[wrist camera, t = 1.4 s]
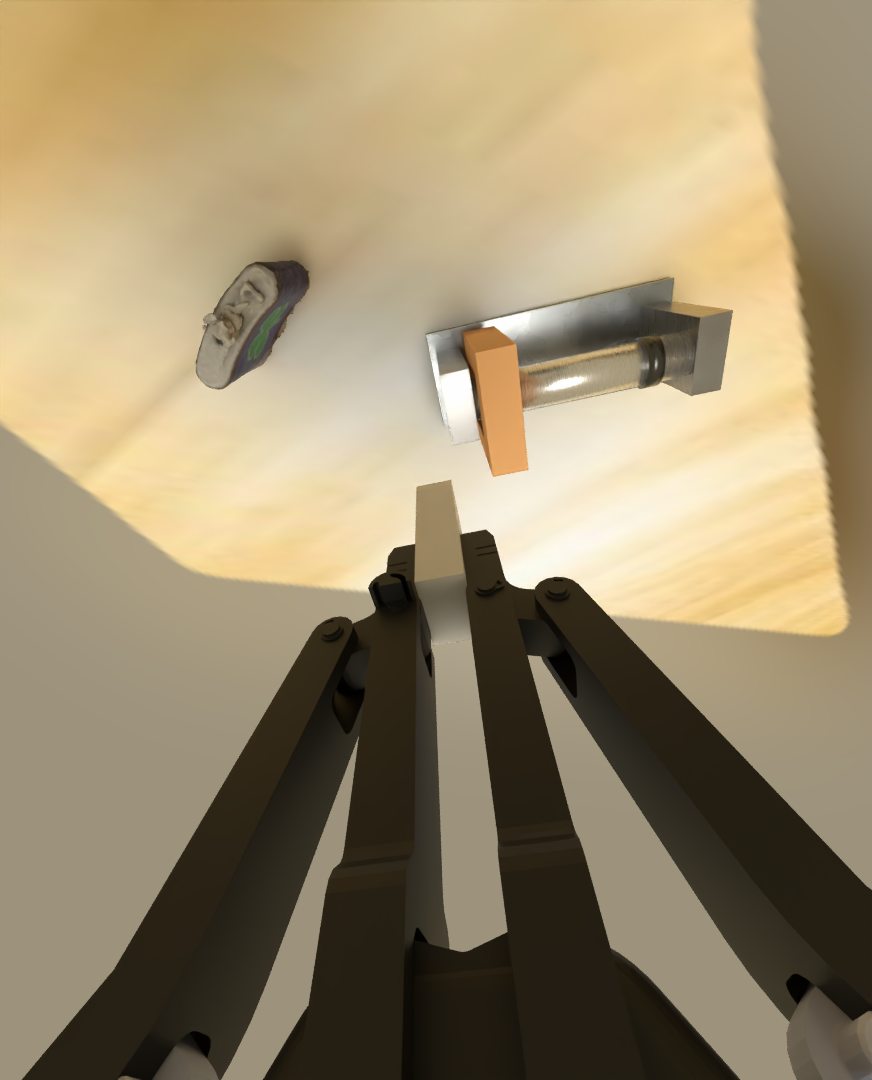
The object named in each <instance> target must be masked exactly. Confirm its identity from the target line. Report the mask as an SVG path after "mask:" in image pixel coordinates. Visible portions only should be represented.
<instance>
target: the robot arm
mask: <svg viewBox="0 0 872 1080" xmlns="http://www.w3.org/2000/svg"><path fill="white" fill-rule="evenodd" d="M368 589H369V591H370V594H371V597H372V599H373V602H374V605H375V607H376V611H375V613H374V614H372V615H371V616H369V617H367V618H365V619H363V620H360V621H358V622H356V623H354V624H352V621H351V620H349V619H348V618H346V617H334V618H331V619H328V620H326V621H324V622H322V623H321V624H320V625H318V626H317V627H316V628H315V630H314V631H313V632H312V634H311V636H310V637H309V639H308V641H307V642H306V644H305V646H304V648H303V649H302V651H301V653H300V654H299V656H298V658H297V659H296V661H295V663H294V665H293V666H292V668H291V670H290V671H289V673H288V675H287V676H286V678H285V680H284V682H283V683H282V685H281V687H280V688H279V690H278V692H277V693H276V695H275V697H274V699H273V700H272V702H271V704H270V705H269V707H268V709H267V710H266V712H265V714H264V716H263V717H262V719H261V721H260V722H259V724H258V726H257V727H256V729H255V731H254V732H253V734H252V736H251V738H250V739H249V741H248V743H247V744H246V746H245V748H244V750H243V751H242V753H241V755H240V756H239V758H238V760H237V761H236V763H235V765H234V766H233V768H232V770H231V772H230V773H229V775H228V777H227V778H226V780H225V782H224V784H223V785H222V787H221V789H220V790H219V792H218V794H217V795H216V797H215V799H214V801H213V802H212V804H211V806H210V807H209V809H208V811H207V813H206V814H205V816H204V817H203V819H202V821H201V823H200V824H199V826H198V828H197V829H196V831H195V833H194V835H193V836H192V838H191V840H190V841H189V843H188V845H187V846H186V848H185V850H184V852H183V853H182V855H181V857H180V858H179V860H178V862H177V863H176V865H175V867H174V869H173V870H172V872H171V874H170V875H169V877H168V879H167V881H166V882H165V884H164V885H163V887H162V889H161V891H160V892H159V894H158V896H157V897H156V899H155V901H154V902H153V904H152V906H151V908H150V909H149V911H148V913H147V914H146V916H145V918H144V919H143V921H142V923H141V925H140V926H139V928H138V930H137V931H136V933H135V935H134V936H133V938H132V940H131V942H130V943H129V945H128V947H127V948H126V950H125V952H124V954H123V955H122V957H121V959H120V960H119V962H118V964H117V965H116V967H115V969H114V970H113V972H112V973H111V974H110V975H109V976H108V977H107V979H106V980H105V981H104V982H103V983H102V985H101V986H100V987H99V988H98V989H97V991H96V992H95V993H94V994H93V995H92V996H91V998H90V999H89V1000H88V1001H87V1003H86V1004H85V1005H84V1006H83V1007H82V1008H81V1010H80V1011H79V1012H78V1013H77V1014H76V1016H75V1017H74V1018H73V1019H72V1020H71V1022H70V1023H69V1024H68V1025H67V1026H66V1028H65V1029H64V1030H63V1032H61V1034H60V1035H59V1036H58V1037H57V1038H56V1040H55V1041H54V1042H53V1043H52V1044H51V1045H50V1047H49V1048H48V1049H47V1050H46V1051H45V1053H44V1054H43V1055H42V1056H41V1057H40V1059H39V1060H38V1061H37V1062H36V1063H35V1065H34V1066H33V1067H32V1068H31V1069H30V1071H29V1072H28V1073H27V1074H26V1075H25V1077H24V1078H23V1079H22V1080H221V1079H222V1077H223V1075H224V1073H225V1072H226V1070H227V1068H228V1066H229V1065H230V1063H231V1061H232V1059H233V1057H234V1055H235V1053H236V1051H237V1049H238V1047H239V1045H240V1043H241V1041H242V1039H243V1036H244V1034H245V1032H246V1030H247V1028H248V1026H249V1024H250V1022H251V1020H252V1017H253V1015H254V1012H255V1010H256V1007H257V1005H258V1002H259V1000H260V997H261V995H262V993H263V990H264V988H265V986H266V983H267V980H268V978H269V975H270V972H271V970H272V967H273V964H274V961H275V959H276V956H277V953H278V951H279V948H280V945H281V943H282V940H283V937H284V934H285V932H286V929H287V926H288V924H289V921H290V919H291V916H292V913H293V910H294V908H295V905H296V902H297V900H298V897H299V894H300V892H301V889H302V886H303V883H304V881H305V878H306V876H307V873H308V870H309V868H310V865H311V862H312V859H313V856H314V854H315V851H316V849H317V846H318V843H319V841H320V838H321V835H322V833H323V830H324V827H325V824H326V822H327V819H328V817H329V814H330V811H331V809H332V806H333V803H334V800H335V798H336V795H337V792H338V790H339V787H340V784H341V782H342V779H343V776H344V774H345V771H346V768H347V766H348V762H349V760H350V757H351V755H352V752H353V749H354V747H355V744H356V741H357V739H358V736H359V740H358V748H357V756H356V763H355V771H354V778H353V786H352V794H351V802H350V810H349V817H348V825H347V832H346V840H345V847H344V853H343V858H342V860H341V862H340V864H339V865H337V866H336V867H335V868H334V869H333V870H332V873H331V875H330V877H329V880H328V885H327V889H326V894H325V900H324V907H323V914H322V921H321V927H320V934H319V940H318V947H317V953H316V960H315V967H314V973H313V980H312V986H311V993H310V999H309V1006H308V1007H307V1009H306V1010H305V1011H304V1013H303V1014H302V1016H301V1017H300V1019H299V1021H298V1022H297V1024H296V1025H295V1027H294V1029H293V1030H292V1032H291V1034H290V1035H289V1037H288V1039H287V1040H286V1042H285V1044H284V1046H283V1047H282V1049H281V1050H280V1052H279V1054H278V1056H277V1057H276V1059H275V1060H274V1062H273V1064H272V1065H271V1067H270V1069H269V1070H268V1072H267V1074H266V1076H265V1078H264V1079H263V1080H740V1079H739V1078H738V1076H737V1075H736V1074H735V1073H734V1072H733V1071H732V1070H731V1069H730V1068H729V1066H728V1065H727V1064H726V1063H725V1062H724V1061H723V1060H722V1059H721V1057H720V1056H719V1055H718V1054H717V1053H716V1052H715V1051H714V1050H713V1048H712V1047H711V1046H710V1045H709V1044H708V1043H707V1042H706V1041H705V1040H704V1038H703V1037H702V1036H701V1035H700V1034H699V1033H698V1032H697V1031H696V1029H695V1028H694V1027H693V1026H692V1025H691V1024H690V1023H689V1022H688V1020H687V1019H686V1018H685V1017H684V1016H683V1015H682V1014H681V1013H680V1011H679V1010H678V1009H677V1008H676V1007H675V1006H674V1005H673V1004H672V1003H671V1001H670V1000H669V999H668V998H667V997H666V996H665V995H664V994H663V992H662V991H661V990H660V989H659V988H658V987H657V986H656V985H655V984H654V983H653V982H652V981H651V979H650V978H649V977H648V976H646V975H645V974H644V973H643V972H642V971H641V970H640V969H639V968H638V967H637V966H635V965H634V964H633V963H632V962H631V961H629V960H628V959H626V958H625V957H624V956H622V955H621V954H620V953H618V952H616V951H614V950H613V949H611V948H610V945H609V941H608V938H607V935H606V930H605V927H604V923H603V920H602V916H601V912H600V909H599V905H598V901H597V898H596V894H595V891H594V887H593V884H592V880H591V877H590V873H589V869H588V865H587V862H586V858H585V855H584V851H583V848H582V845H581V842H580V840H579V837H578V836H577V834H576V832H575V829H574V826H573V822H572V819H571V815H570V812H569V808H568V804H567V800H566V797H565V793H564V789H563V786H562V782H561V778H560V775H559V771H558V767H557V763H556V760H555V756H554V752H553V749H552V745H551V741H550V737H549V734H548V730H547V726H546V723H545V719H544V715H543V712H542V708H541V704H540V700H539V697H538V693H537V689H536V686H535V682H534V679H533V675H532V671H531V667H530V663H529V660H528V656H527V655H532V656H541V657H542V660H543V662H544V663H545V665H546V666H547V668H548V670H549V671H550V673H551V674H552V676H553V677H554V679H555V680H556V682H557V683H558V685H559V686H560V688H561V689H562V691H563V692H564V694H565V696H566V697H567V698H568V700H569V702H570V703H571V705H572V706H573V708H574V709H575V711H576V712H577V714H578V715H579V717H580V718H581V720H582V721H583V723H584V725H585V726H586V727H587V729H588V731H589V732H590V733H591V735H592V737H593V738H594V740H595V741H596V743H597V744H598V746H599V747H600V749H601V750H602V752H603V754H604V755H605V757H606V758H607V760H608V761H609V763H610V764H611V766H612V767H613V769H614V770H615V772H616V773H617V775H618V776H619V778H620V779H621V781H622V783H623V784H624V786H625V787H626V789H627V790H628V792H629V793H630V795H631V796H632V798H633V799H634V801H635V802H636V804H637V805H638V807H639V808H640V810H641V811H642V813H643V815H644V816H645V818H646V819H647V821H648V822H649V824H650V825H651V827H652V828H653V830H654V831H655V833H656V834H657V836H658V837H659V839H660V841H661V842H662V844H663V845H664V847H665V848H666V850H667V851H668V853H669V854H670V856H671V857H672V859H673V861H674V862H675V864H676V865H677V867H678V868H679V870H680V871H681V873H682V874H683V876H684V877H685V879H686V880H687V882H688V883H689V885H690V886H691V888H692V890H693V891H694V893H695V894H696V896H697V897H698V899H699V900H700V902H701V903H702V905H703V906H704V908H705V909H706V911H707V912H708V914H709V915H710V917H711V919H712V920H713V922H714V923H715V925H716V926H717V928H718V929H719V931H720V932H721V934H722V935H723V937H724V938H725V940H726V941H727V943H728V944H729V945H730V947H731V948H732V950H733V951H734V952H735V954H736V955H737V957H738V958H739V960H740V961H741V962H742V964H743V965H744V967H745V968H746V969H747V971H748V972H749V973H750V975H751V976H752V978H753V979H754V980H755V981H756V982H757V984H758V985H759V986H760V987H761V989H762V990H763V991H764V992H765V993H766V995H767V996H768V997H769V998H770V1000H771V1001H772V1002H773V1003H774V1004H775V1006H776V1007H777V1008H778V1009H779V1010H780V1012H781V1013H782V1014H783V1015H784V1016H785V1017H786V1019H788V1021H789V1022H790V1023H789V1027H788V1031H787V1051H788V1054H789V1058H790V1062H791V1065H792V1069H793V1072H794V1074H795V1076H796V1078H797V1080H872V890H871V889H870V888H868V887H867V886H866V885H865V884H864V883H863V882H862V881H861V880H860V879H859V878H858V877H857V876H856V875H855V874H854V873H853V872H852V871H851V870H850V869H849V867H848V866H847V865H846V864H845V863H844V862H843V861H842V860H841V859H840V858H839V857H838V856H837V855H836V854H835V853H834V852H833V851H832V850H831V849H830V848H829V846H828V845H827V844H826V843H825V842H824V841H823V840H822V839H821V838H820V837H819V836H818V835H817V834H816V833H815V832H814V831H813V830H812V829H811V828H810V827H809V826H808V824H806V822H805V821H804V820H803V819H802V818H801V817H800V816H799V815H798V814H797V813H796V812H795V811H794V810H793V809H792V808H791V807H790V806H789V805H788V803H787V802H786V801H785V800H784V799H783V798H782V797H781V796H780V795H779V794H778V793H777V792H776V791H775V790H774V789H773V788H772V787H771V786H770V785H769V784H768V783H767V781H765V779H764V778H763V777H762V776H761V775H760V774H759V773H758V772H757V771H756V770H755V769H754V768H753V767H752V766H751V765H750V764H749V763H748V762H747V761H746V759H745V758H744V757H743V756H742V755H741V754H740V753H739V752H738V751H737V750H736V749H735V748H734V747H733V746H732V745H731V744H730V743H729V742H728V741H727V740H726V738H724V736H723V735H722V734H721V733H720V732H719V731H718V730H717V729H716V728H715V727H714V726H713V725H712V724H711V723H710V722H709V721H708V720H707V719H706V717H705V716H704V715H703V714H702V713H701V712H700V711H699V710H698V709H697V708H696V707H695V706H694V705H693V704H692V703H691V702H690V701H689V700H688V699H687V698H686V697H685V695H683V694H682V692H681V691H680V690H679V689H678V688H677V687H676V686H675V685H674V684H673V683H672V682H671V681H670V680H669V679H668V678H667V677H666V676H665V675H664V674H663V672H662V671H661V670H660V669H659V668H658V667H657V666H656V665H655V664H654V663H653V662H652V661H651V660H650V659H649V658H648V657H647V656H646V655H645V654H644V653H643V651H642V650H641V649H640V648H639V647H638V646H637V645H636V644H635V643H634V642H633V641H632V640H631V639H630V638H629V637H628V636H627V635H626V634H625V633H624V632H623V630H622V629H621V628H620V627H619V626H618V625H617V624H616V623H615V622H614V621H613V620H612V619H611V618H610V617H609V616H608V615H607V614H606V613H605V612H604V611H603V610H602V608H601V607H600V606H599V605H598V604H597V603H596V602H595V601H594V600H593V599H592V598H591V597H590V596H589V595H588V594H587V593H586V592H585V591H584V590H583V589H582V587H581V586H580V585H579V584H577V583H576V582H575V581H573V580H571V579H568V578H565V577H553V578H548V579H545V580H543V581H541V582H540V583H539V584H538V585H537V586H536V587H535V590H534V589H522V588H518V587H515V586H513V585H511V584H509V583H508V582H507V581H506V579H505V577H504V573H503V569H502V566H501V562H500V558H499V555H498V551H497V547H496V544H495V540H494V536H493V535H492V534H491V533H489V532H488V531H487V530H482V531H476V532H471V533H466V534H462V531H461V526H460V521H459V516H458V511H457V507H456V502H455V497H454V492H453V487H452V482H451V480H448V481H443V482H438V483H433V484H428V485H423V486H418V487H417V492H416V536H415V544H413V545H407V546H402V547H397V548H394V549H393V551H392V552H391V553H390V555H389V556H388V563H387V571H386V573H383V574H381V575H379V576H378V577H376V578H375V579H374V580H373V581H372V582H371V583H370V585H369V588H368ZM470 639H472V645H473V653H474V660H475V668H476V675H477V682H478V690H479V698H480V706H481V713H482V721H483V728H484V736H485V744H486V751H487V759H488V766H489V774H490V781H491V788H492V797H493V804H494V811H495V819H496V827H497V835H498V858H499V867H500V875H501V883H502V891H503V899H504V907H505V914H506V922H507V930H508V932H507V933H505V934H503V935H501V936H499V937H496V938H495V939H492V940H490V941H488V942H486V943H484V944H482V945H480V946H478V947H476V948H474V949H472V950H470V951H466V952H459V951H455V950H450V949H449V939H448V931H447V925H446V919H445V914H444V905H443V887H442V862H441V832H440V804H439V776H438V750H437V721H436V695H435V666H434V656H433V653H432V649H431V640H432V643H433V646H434V645H440V644H446V643H452V642H458V641H464V640H470Z"/></svg>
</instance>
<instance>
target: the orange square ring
mask: <svg viewBox="0 0 872 1080" xmlns="http://www.w3.org/2000/svg"><path fill="white" fill-rule="evenodd" d="M463 338H464V345H465V351H466V357H467V364H468V368H469V373H470V378H473V377H475V378H476V385H477V392H478V399H479V405H480V412H481V419H482V420H477V425H478V431H479V437H480V440H481V443H482V445H483V448H484V451H485V454H486V457H487V460H488V463H489V466H490V469H491V472H492V475H493V477H495V476H500V475H505V474H510V473H515V472H520V471H525V470H528V462H527V451H526V441H525V430H524V420H523V409H522V399H521V388H520V378H519V367H518V356H517V346H516V343H515V342H513V341H512V340H511V339H510V338H509V337H507V336H506V335H505V334H504V333H502V332H501V331H500V330H499V329H498V328H496V327H495V326H490V327H485V328H481V329H477V330H472V331H468V332H464V333H463Z"/></svg>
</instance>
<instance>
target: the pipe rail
mask: <svg viewBox="0 0 872 1080" xmlns="http://www.w3.org/2000/svg"><path fill="white" fill-rule="evenodd" d="M673 284H674V278H665V279H661V280H657V281H653V282H648V283H644V284H640V285H635V286H631V287H627V288H622V289H618V290H614V291H609V292H605V293H601V294H597V295H592V296H588V297H584V298H579V299H575V300H571V301H566V302H562V303H558V304H553V305H549V306H545V307H540V308H536V309H532V310H528V311H523V312H519V313H515V314H510V315H506V316H502V317H497V318H493V319H489V320H484V321H480V322H476V323H471V324H467V325H463V326H459V327H454V328H450V329H446V330H441V331H437V332H433V333H428V334H426V337H427V342H428V347H429V352H430V357H431V362H432V367H433V372H434V377H435V382H436V387H437V392H438V397H439V402H440V407H441V412H442V417H443V422H444V427H445V428H447V427H450V432H451V438H452V443H453V445H457V444H462V443H467V442H472V441H476V440H480V438H479V431H478V425H477V420H482V419H481V412H480V405H479V399H478V392H477V385H476V378H475V377H473V378H470V373H469V368H468V364H467V357H466V351H465V345H464V338H463V333H464V332H468V331H472V330H477V329H481V328H485V327H490V326H495V327H496V328H498V329H499V330H500V331H501V332H502V333H504V334H505V335H506V336H507V337H509V338H510V339H511V340H512V341H513V342H515V343H516V346H517V356H518V367H519V378H520V388H521V399H522V409H523V411H528V410H532V409H537V408H542V407H547V406H551V405H556V404H561V403H565V402H570V401H575V400H580V399H584V398H589V397H594V396H599V395H603V394H608V393H613V392H617V391H622V390H627V389H632V388H636V387H638V388H639V389H642V388H647V387H651V386H656V385H658V384H659V383H660V382H663V383H665V384H667V385H670V386H672V387H674V388H676V389H678V390H680V391H682V392H684V393H686V394H688V395H690V396H693V395H698V394H702V393H707V392H712V391H717V390H721V384H722V377H723V371H724V364H725V358H726V351H727V345H728V338H729V332H730V325H731V319H732V313H733V310H728V309H721V308H714V307H707V306H700V305H693V304H686V303H679V302H672V296H673Z"/></svg>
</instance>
